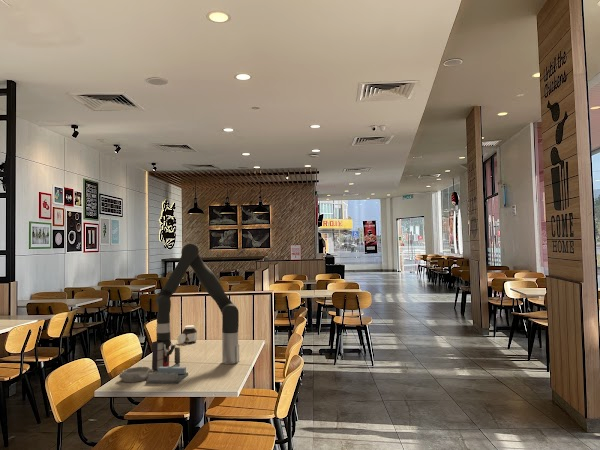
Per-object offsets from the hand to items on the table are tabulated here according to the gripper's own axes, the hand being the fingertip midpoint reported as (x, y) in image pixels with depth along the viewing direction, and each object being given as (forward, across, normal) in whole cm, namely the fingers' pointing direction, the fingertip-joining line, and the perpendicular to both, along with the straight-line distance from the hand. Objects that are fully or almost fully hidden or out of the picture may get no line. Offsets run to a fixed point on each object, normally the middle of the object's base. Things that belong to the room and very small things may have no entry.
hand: (163, 362), depth 267 cm
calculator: (+3, +2, 0) cm, 4 cm away
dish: (+3, +6, +22) cm, 23 cm away
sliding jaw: (+1, -11, +12) cm, 16 cm away
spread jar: (+3, +12, -72) cm, 73 cm away
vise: (+3, -11, +22) cm, 24 cm away
